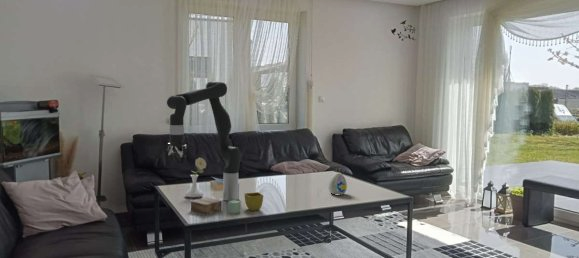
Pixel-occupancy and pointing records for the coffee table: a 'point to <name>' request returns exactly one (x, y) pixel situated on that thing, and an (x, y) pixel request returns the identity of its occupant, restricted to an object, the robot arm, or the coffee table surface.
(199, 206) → the walnut box
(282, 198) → the coffee table surface
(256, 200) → the flower pot
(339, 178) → the decorative egg
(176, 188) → the coffee table surface
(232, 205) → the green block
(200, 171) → the flower in vase
